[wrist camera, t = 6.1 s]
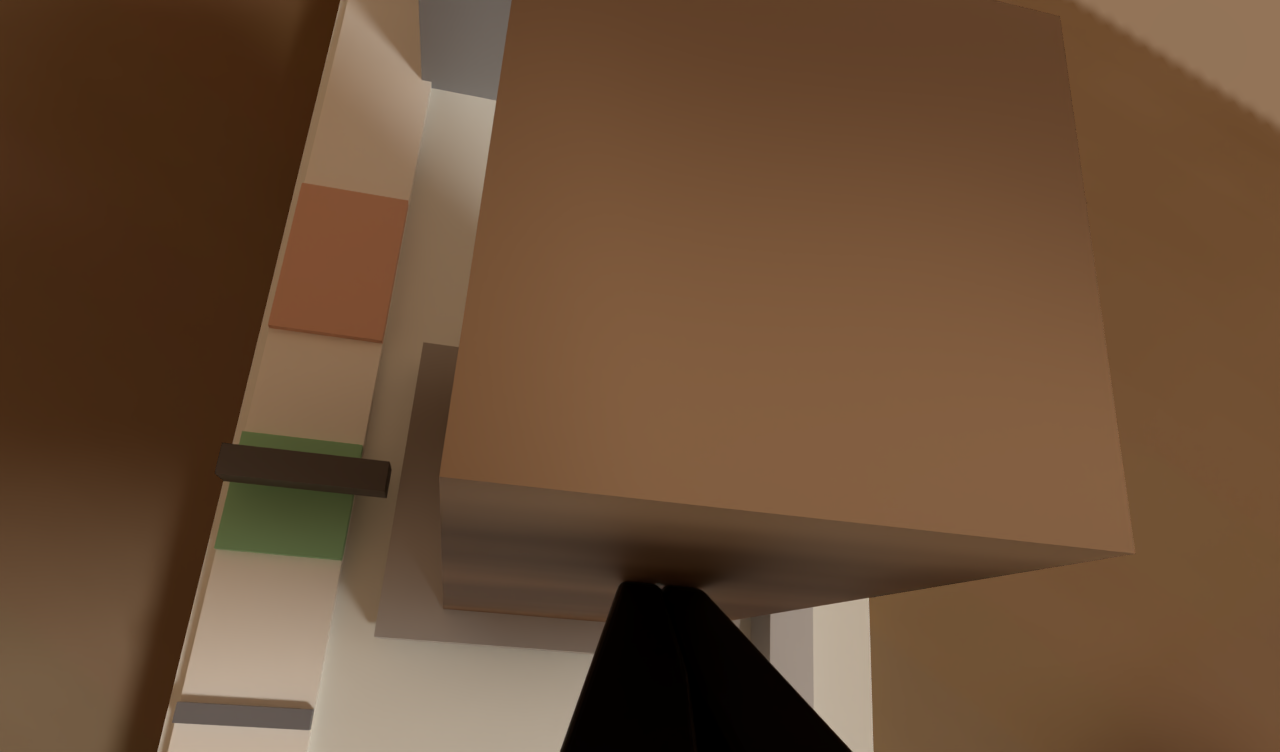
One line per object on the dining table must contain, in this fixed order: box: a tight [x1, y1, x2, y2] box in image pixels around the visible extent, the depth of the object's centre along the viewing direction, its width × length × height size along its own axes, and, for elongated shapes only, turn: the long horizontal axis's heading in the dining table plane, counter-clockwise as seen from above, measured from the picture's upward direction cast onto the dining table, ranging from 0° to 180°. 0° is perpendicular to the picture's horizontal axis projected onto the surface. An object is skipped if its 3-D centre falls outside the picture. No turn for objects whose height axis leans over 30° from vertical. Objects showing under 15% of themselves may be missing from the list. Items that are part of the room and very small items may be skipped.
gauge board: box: [157, 0, 873, 752], centre depth 14 cm, size 24×12×7 cm, turn 176°
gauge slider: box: [215, 0, 1135, 654], centre depth 10 cm, size 5×9×11 cm, turn 86°
